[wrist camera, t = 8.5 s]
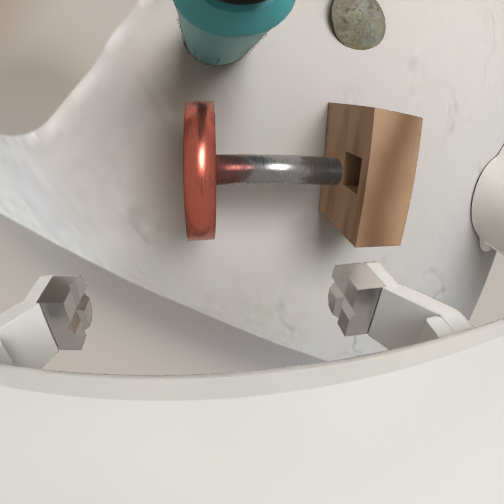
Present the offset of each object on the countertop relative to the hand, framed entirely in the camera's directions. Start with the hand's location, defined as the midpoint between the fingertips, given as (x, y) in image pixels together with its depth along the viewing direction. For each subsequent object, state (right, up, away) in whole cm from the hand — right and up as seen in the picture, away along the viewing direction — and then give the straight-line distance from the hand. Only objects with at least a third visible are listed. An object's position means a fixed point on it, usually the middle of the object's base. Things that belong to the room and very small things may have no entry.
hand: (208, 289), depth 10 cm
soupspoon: (+10, +32, +12) cm, 36 cm away
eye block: (+11, +11, +22) cm, 28 cm away
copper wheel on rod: (+2, +10, +20) cm, 22 cm away
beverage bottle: (-2, +21, +15) cm, 26 cm away
